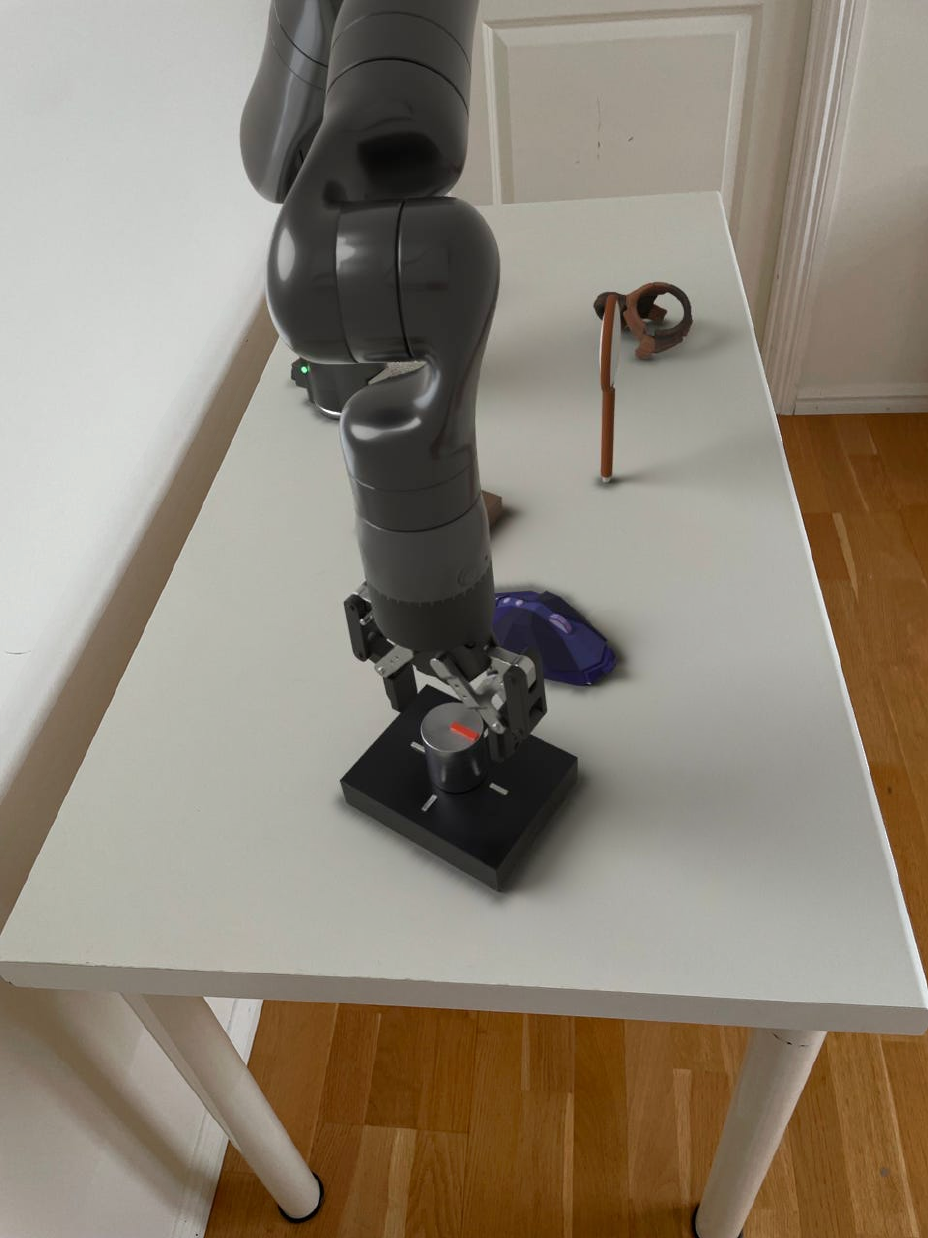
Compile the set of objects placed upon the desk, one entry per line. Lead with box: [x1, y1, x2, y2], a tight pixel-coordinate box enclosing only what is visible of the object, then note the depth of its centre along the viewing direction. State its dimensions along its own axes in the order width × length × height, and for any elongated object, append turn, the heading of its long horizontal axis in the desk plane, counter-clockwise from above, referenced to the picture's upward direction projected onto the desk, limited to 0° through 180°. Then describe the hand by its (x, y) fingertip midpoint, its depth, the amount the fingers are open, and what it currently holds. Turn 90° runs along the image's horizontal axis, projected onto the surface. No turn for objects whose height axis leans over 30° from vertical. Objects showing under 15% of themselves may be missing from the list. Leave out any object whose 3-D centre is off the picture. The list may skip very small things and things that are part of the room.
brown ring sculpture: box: [592, 281, 694, 361], centre depth 114 cm, size 12×10×8 cm
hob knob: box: [421, 703, 488, 793], centre depth 68 cm, size 4×4×5 cm
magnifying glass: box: [599, 294, 622, 483], centre depth 90 cm, size 9×2×20 cm, turn 168°
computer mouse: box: [492, 590, 617, 686], centre depth 81 cm, size 9×15×4 cm, turn 50°
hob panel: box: [339, 683, 579, 893], centre depth 71 cm, size 14×11×3 cm
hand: (453, 727), depth 66 cm, fingers open, 8 cm apart
